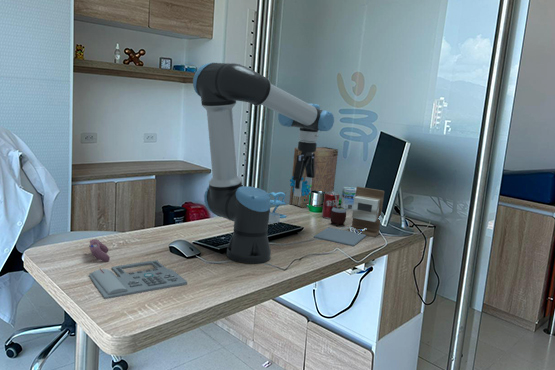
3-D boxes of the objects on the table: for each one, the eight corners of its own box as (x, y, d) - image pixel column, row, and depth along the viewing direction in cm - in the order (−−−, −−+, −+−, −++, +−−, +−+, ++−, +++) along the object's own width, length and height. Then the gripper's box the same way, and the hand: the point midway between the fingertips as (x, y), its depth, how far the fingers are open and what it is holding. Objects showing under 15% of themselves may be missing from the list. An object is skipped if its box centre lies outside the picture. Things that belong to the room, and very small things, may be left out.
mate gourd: (344, 227, 212) (348, 195, 210) (327, 225, 214) (330, 193, 211) (345, 223, 220) (348, 192, 217) (328, 221, 221) (331, 190, 218)
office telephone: (105, 292, 122) (83, 266, 137) (105, 302, 122) (83, 275, 138) (188, 277, 135) (160, 255, 151) (187, 285, 136) (159, 263, 152)
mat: (353, 246, 186) (353, 245, 186) (313, 237, 193) (313, 236, 193) (366, 236, 202) (366, 234, 202) (328, 228, 209) (328, 227, 209)
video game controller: (96, 256, 155) (85, 238, 153) (109, 250, 156) (99, 232, 154) (96, 267, 146) (86, 248, 144) (111, 260, 147) (100, 241, 145)
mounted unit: (374, 237, 201) (380, 193, 198) (347, 231, 206) (352, 188, 203) (379, 233, 208) (384, 190, 205) (353, 228, 213) (358, 186, 210)
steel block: (274, 224, 207) (275, 216, 207) (264, 222, 209) (265, 214, 209) (279, 222, 212) (280, 213, 211) (269, 220, 214) (269, 211, 213)
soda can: (319, 215, 231) (322, 191, 229) (333, 215, 233) (335, 191, 231) (325, 219, 224) (328, 194, 222) (339, 219, 226) (342, 195, 224)
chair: (276, 213, 228) (278, 189, 226) (286, 217, 221) (288, 192, 219) (263, 214, 223) (265, 189, 221) (273, 218, 217) (275, 193, 214)
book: (302, 208, 242) (307, 150, 237) (288, 204, 249) (294, 147, 243) (332, 203, 261) (338, 149, 255) (319, 199, 267) (324, 147, 261)
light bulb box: (342, 209, 250) (345, 188, 248) (340, 206, 256) (342, 186, 254) (362, 210, 251) (365, 190, 249) (359, 207, 257) (361, 187, 255)
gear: (294, 193, 192) (288, 173, 197) (287, 200, 196) (281, 180, 201) (316, 195, 198) (309, 176, 203) (308, 203, 202) (302, 183, 207)
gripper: (305, 144, 182) (300, 200, 186) (325, 141, 203) (320, 191, 207) (287, 141, 185) (282, 196, 189) (309, 139, 206) (304, 189, 210)
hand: (302, 194), depth 198 cm, fingers closed on gear, 10 cm apart
